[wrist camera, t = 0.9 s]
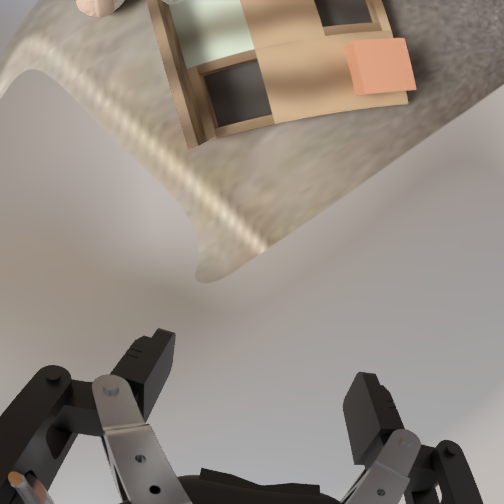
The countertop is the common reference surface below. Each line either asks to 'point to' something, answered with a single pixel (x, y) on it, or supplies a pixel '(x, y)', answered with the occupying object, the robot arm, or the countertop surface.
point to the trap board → (263, 60)
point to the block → (380, 66)
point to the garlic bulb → (98, 7)
